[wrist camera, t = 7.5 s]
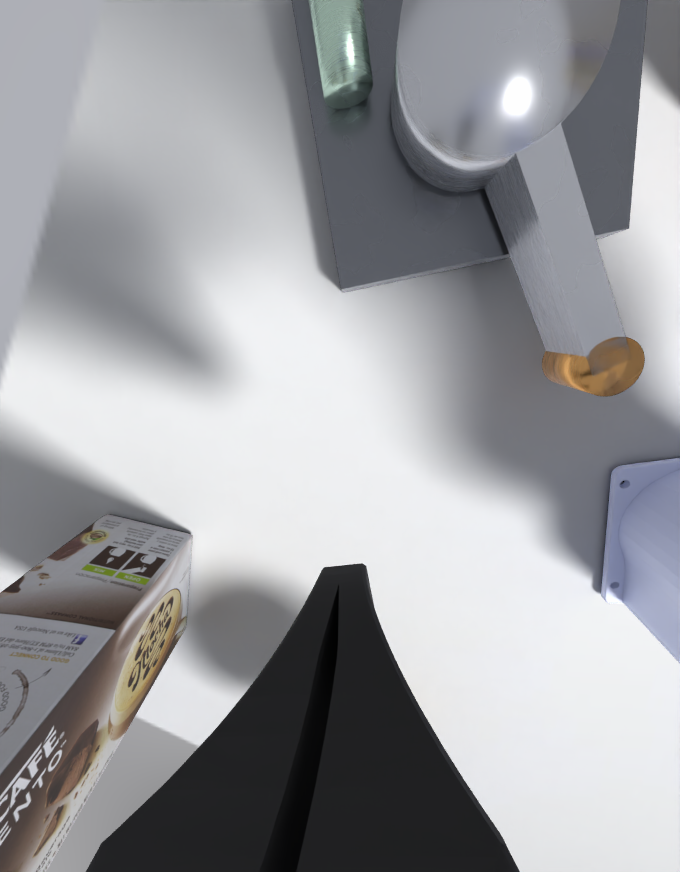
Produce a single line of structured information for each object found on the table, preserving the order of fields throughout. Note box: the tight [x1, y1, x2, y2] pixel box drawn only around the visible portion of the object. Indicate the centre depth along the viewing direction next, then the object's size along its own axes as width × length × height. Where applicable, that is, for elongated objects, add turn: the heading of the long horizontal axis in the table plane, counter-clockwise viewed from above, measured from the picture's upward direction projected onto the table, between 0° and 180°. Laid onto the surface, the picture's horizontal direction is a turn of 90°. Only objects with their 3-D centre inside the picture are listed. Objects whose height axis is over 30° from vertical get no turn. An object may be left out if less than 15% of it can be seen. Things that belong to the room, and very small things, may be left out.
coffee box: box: [0, 515, 193, 872], centre depth 15 cm, size 9×6×16 cm
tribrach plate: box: [292, 0, 648, 292], centre depth 12 cm, size 11×12×4 cm
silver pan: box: [391, 0, 645, 396], centre depth 12 cm, size 15×6×3 cm, turn 30°
